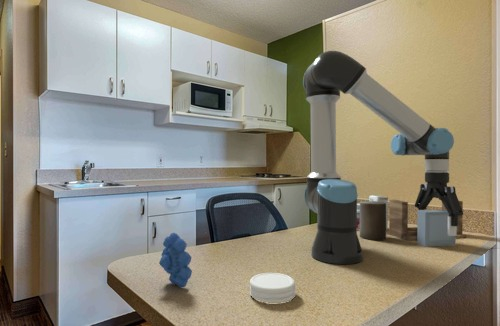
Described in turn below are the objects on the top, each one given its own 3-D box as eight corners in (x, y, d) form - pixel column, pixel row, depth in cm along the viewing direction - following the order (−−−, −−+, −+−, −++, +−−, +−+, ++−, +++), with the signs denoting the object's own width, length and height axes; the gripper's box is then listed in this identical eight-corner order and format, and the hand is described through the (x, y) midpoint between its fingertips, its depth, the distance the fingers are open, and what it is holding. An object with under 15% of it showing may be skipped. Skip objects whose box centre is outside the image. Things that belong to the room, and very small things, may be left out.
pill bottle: (356, 227, 141) (356, 202, 141) (369, 229, 137) (369, 204, 137) (348, 229, 137) (348, 203, 137) (361, 231, 133) (361, 205, 133)
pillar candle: (389, 241, 117) (389, 200, 117) (361, 239, 119) (362, 199, 119) (382, 235, 127) (382, 198, 127) (357, 234, 128) (357, 197, 128)
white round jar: (278, 283, 76) (278, 269, 76) (304, 300, 67) (304, 283, 67) (241, 291, 71) (241, 276, 71) (264, 310, 62) (264, 292, 62)
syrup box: (368, 227, 140) (368, 195, 140) (379, 227, 142) (379, 195, 142) (376, 230, 135) (377, 196, 135) (388, 229, 137) (388, 196, 137)
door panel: (425, 246, 110) (425, 212, 110) (417, 243, 114) (417, 210, 114) (455, 245, 112) (455, 211, 112) (446, 242, 116) (446, 209, 116)
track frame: (405, 240, 119) (405, 202, 119) (386, 233, 130) (386, 199, 130) (466, 237, 123) (466, 201, 123) (443, 231, 135) (443, 198, 135)
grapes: (148, 282, 76) (148, 232, 76) (173, 275, 80) (174, 228, 80) (170, 298, 67) (171, 241, 67) (198, 289, 72) (198, 236, 72)
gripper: (476, 172, 101) (476, 239, 101) (421, 170, 126) (421, 223, 126) (455, 173, 100) (455, 240, 100) (404, 170, 124) (404, 224, 125)
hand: (436, 231), depth 113 cm, fingers open, 13 cm apart
